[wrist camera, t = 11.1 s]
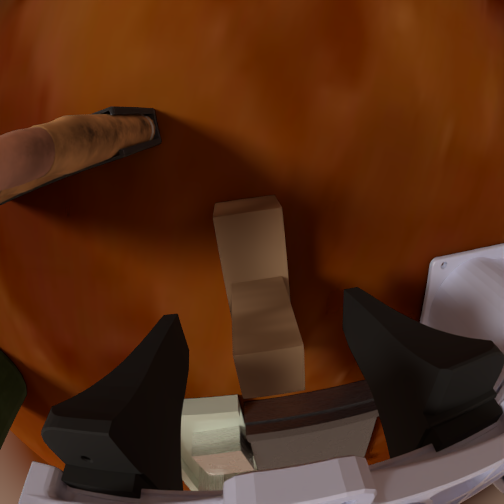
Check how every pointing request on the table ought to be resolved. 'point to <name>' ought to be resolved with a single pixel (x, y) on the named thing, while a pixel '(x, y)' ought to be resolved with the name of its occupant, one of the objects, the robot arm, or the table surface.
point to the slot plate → (311, 425)
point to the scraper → (259, 296)
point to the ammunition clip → (72, 147)
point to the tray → (206, 428)
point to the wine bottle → (9, 394)
